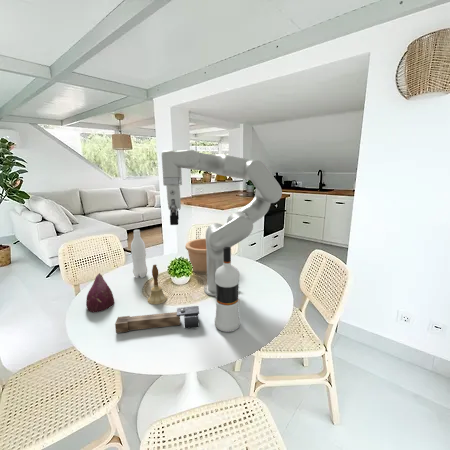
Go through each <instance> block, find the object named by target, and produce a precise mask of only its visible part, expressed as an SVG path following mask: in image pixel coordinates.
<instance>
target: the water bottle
mask: <svg viewBox="0 0 450 450" xmlns="http://www.w3.org/2000/svg"><path fill="white" fill-rule="evenodd" d="M141 234H142V233H141V230H140V229H134V230H133V234H132V235H133V239H132V240H131V243H130V250H131V253H130V254H131V259H132V265H133V268H132V273H133V276H134V277H135V278H136V279H138V278H141V279H143V278H145V277H146V276H147V275H148V267H147V262H146V259H147V258H146V257H147V256H146V255H147V253H146V243H145V241H144V240H143V238H142V237H141Z"/></svg>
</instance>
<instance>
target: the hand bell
mask: <svg viewBox="0 0 450 450" xmlns="http://www.w3.org/2000/svg"><path fill="white" fill-rule="evenodd" d="M151 275H152V277H153V287H151V288H150V296H149V297H148V298H147V303H148V304H149V305H160V304H162V303H163V304H164V303H165V302H167V300H168V297H167V295H166V294H165V293H164V292H163V288H162V286H159V281H158V279H159V269H158V267H157V264H153V265H152V269H151Z"/></svg>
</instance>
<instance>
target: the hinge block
mask: <svg viewBox="0 0 450 450" xmlns="http://www.w3.org/2000/svg"><path fill="white" fill-rule="evenodd" d="M176 312H177V316H180V317H182V316H183V318H184V329H186V330H187V329H195V328H199V327H200V323H199V322H200V321H199V315H200V308H199V306H198V305H191V306H184V307H177V308H176Z"/></svg>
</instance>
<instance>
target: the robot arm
mask: <svg viewBox="0 0 450 450" xmlns="http://www.w3.org/2000/svg"><path fill="white" fill-rule="evenodd" d="M161 166H162V181H163V182H162V183H163V186H165V187H166V197H167V198H166V199H167V205H168V206H167V207H168V210H169V213H170V214H169V225H170V226H178V225H179V220H180V219H179V218H180V217H179V216H180V215H179V210H181V208H182V206H181V205H182V204H181V203H182V202H181V187H180V186H183V180H182V179H183V178H182V169H188V170H196V171H202V172H208V173H212V174H214V175H215V174H216V175H219V176H224V177H230V178H235V179H242V180H248V181H251V183H252V184H253V186H254V187H255V194H254V197H253V199H252V200H251V201H250V202H249V203H247V204H246V205H245V206H243V207H241V208H240V209H238V210H236V211H235V212H234V211H233V213H230V215H228V217H227V219H226V223H225V224H224V225H223V224H221V223H218V222H214V223H211V224H210V225H209V226H208V227H207V228H206V231H205V238H206V252H207V274H206V281H207V282H206V284H205V285H204V288H203V291H204V293H205V294H206V295H208V296H211V297H216V282H215V280H216V278H215V272H216V270H217V269H218V268H219V267H221V266H222V265H223V254H224V253H223V248H224V247H226V246H228V247H231V248H232V247H234V246H235V245H238V244H239V243H240V242H242V241H243V240H245V239H246V238H248V237H249V236H250V235H251V233H252V232H253V230H254V224H255V223H257V222H258V221H260V220H261V219H263V217H264V216H265V215H266V214H267V213H268V212H269V210H270V207H271V204H275V203H277V202H278V201H280V200H281V198H282V195H283V191H282V187H281V185H280V183H279V182H278V181H277V179H276V178H275V177H274V175H273V173H272V172H271V171H270V169H269V168H268V166H267V165H266V163H264V162H263V160H261V159H249V158H244V157H240V156H239V157H238V156H234V155H227V154H211V153H210V154H209V153H203V152H197V151H196V150H194V149H185V150H184V149H182V150H177V149H176V150H175V149H173V150H172V149H171V150H170V149H169V150H168V149H166V150H163V151H162V152H161Z"/></svg>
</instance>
